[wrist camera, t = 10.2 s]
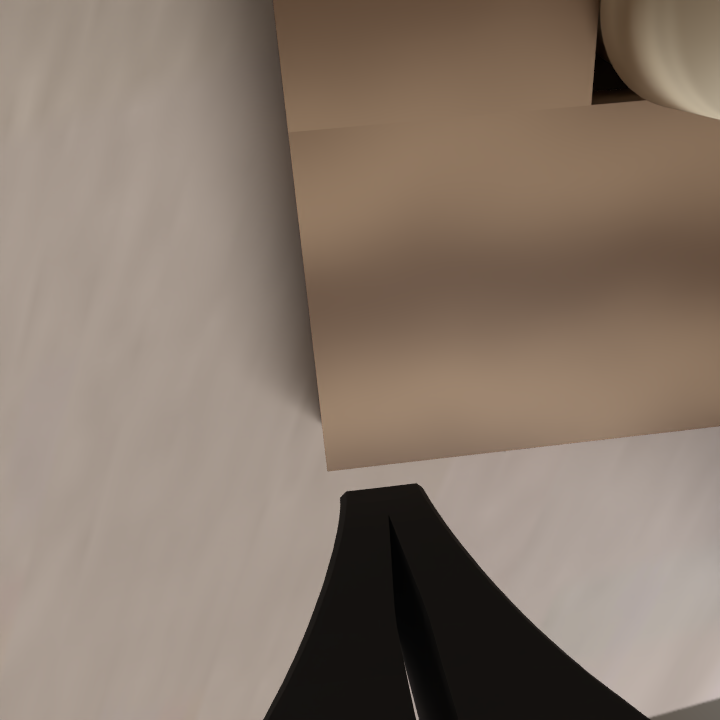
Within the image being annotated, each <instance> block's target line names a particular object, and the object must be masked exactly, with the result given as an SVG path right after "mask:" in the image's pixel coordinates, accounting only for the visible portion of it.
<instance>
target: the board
mask: <svg viewBox="0 0 720 720" xmlns="http://www.w3.org/2000/svg"><path fill="white" fill-rule="evenodd" d="M599 2H600V0H273V7H274V15H275V24H276V32H277V41H278V50H279V58H280V67H281V76H282V84H283V93H284V101H285V110H286V119H287V127H288V136H289V144H290V153H291V162H292V170H293V179H294V188H295V196H296V205H297V213H298V222H299V231H300V239H301V248H302V256H303V265H304V274H305V282H306V291H307V300H308V308H309V317H310V325H311V334H312V343H313V351H314V360H315V368H316V377H317V386H318V394H319V403H320V412H321V420H322V429H323V437H324V446H325V455H326V463H327V471H335V470H344V469H352V468H361V467H370V466H378V465H387V464H396V463H404V462H413V461H422V460H430V459H439V458H448V457H456V456H465V455H474V454H482V453H491V452H500V451H509V450H517V449H526V448H535V447H543V446H552V445H561V444H569V443H578V442H587V441H595V440H604V439H613V438H621V437H630V436H639V435H647V434H656V433H665V432H673V431H682V430H691V429H699V428H708V427H717V426H720V120H719V119H715V118H710V117H706V116H702V115H697V114H693V113H689V112H684V111H680V110H676V109H671V108H667V107H663V106H660V105H657V104H654V103H651V102H649V101H647V100H646V99H644V98H642V97H640V96H639V95H637V94H636V93H635V92H634V91H632V90H631V89H630V88H622V89H611V90H600V91H592V89H593V76H594V64H595V51H596V39H597V26H598V14H599Z"/></svg>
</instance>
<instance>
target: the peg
mask: <svg viewBox="0 0 720 720" xmlns="http://www.w3.org/2000/svg"><path fill="white" fill-rule="evenodd" d="M595 53H596V54H597V55H598V56H599V57H601V58H602V59H603V60H605V61H606V62H608V63H610V64H612V65H613V68H614V69H615V71H616V72H617V74H618V75H619V77H620V78H621V80H622V81H623V82H624V83H625V84H626V85H627V86H628V87H629V88H630V89H631V90H632V91H634V92H635V93H636V94H637V95H639V96H640V97H642V98H644V99H646V100H647V101H649V102H651V103H654V104H657V105H660V106H663V107H667V108H671V109H676V110H680V111H684V112H689V113H693V114H697V115H702V116H706V117H710V118H715V119H719V120H720V0H600V2H599V14H598V26H597V39H596V51H595Z"/></svg>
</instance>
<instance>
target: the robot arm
mask: <svg viewBox="0 0 720 720" xmlns="http://www.w3.org/2000/svg"><path fill="white" fill-rule="evenodd" d="M404 663H405V665H404ZM405 667H406V670H405ZM406 671H407V675H408V679H409V683H410V686H411V690H412V694H413V698H414V702H415V706H416V709H417V713H418V717H419V720H650V719H649V718H647V717H646V716H645V715H643V714H642V713H641V712H639V711H638V710H637V709H635V708H634V707H633V706H632V705H630V704H629V703H628V702H626V701H625V700H624V699H622V698H621V697H620V696H618V695H617V694H616V693H614V692H613V691H612V690H610V689H609V688H608V687H606V686H605V685H604V684H603V683H601V682H600V681H599V680H597V679H596V678H595V677H593V676H592V675H591V674H590V673H588V672H587V671H586V670H585V669H584V668H582V667H581V666H580V665H579V664H578V663H577V662H575V661H574V660H573V659H572V658H571V657H569V656H568V655H567V654H566V653H565V652H564V651H562V650H561V649H560V648H559V647H558V646H557V645H556V644H555V643H554V642H552V641H551V640H550V639H549V638H548V637H547V636H546V635H545V634H544V633H543V632H542V631H540V630H539V629H538V628H537V627H536V626H535V625H534V624H533V623H532V622H531V621H530V620H529V619H528V618H527V617H526V616H525V615H524V614H523V613H522V612H521V611H520V610H519V609H518V608H517V607H516V606H515V605H514V604H513V603H512V602H511V601H510V600H509V599H508V598H507V596H506V595H505V594H504V593H503V592H502V591H501V590H500V589H499V588H498V587H497V586H496V585H495V584H494V582H493V581H492V580H491V579H490V578H489V577H488V576H487V575H486V573H485V572H484V571H483V570H482V569H481V568H480V566H479V565H478V564H477V563H476V561H475V560H474V559H473V558H472V557H471V555H470V554H469V553H468V552H467V551H466V549H465V548H464V547H463V546H462V544H461V543H460V542H459V541H458V539H457V538H456V537H455V535H454V534H453V533H452V531H451V530H450V529H449V527H448V526H447V525H446V523H445V522H444V520H443V519H442V518H441V516H440V515H439V513H438V512H437V510H436V509H435V507H434V506H433V504H432V503H431V501H430V499H429V498H428V496H427V494H426V493H425V491H424V489H423V488H422V487H421V486H419V485H418V484H417V483H416V484H407V485H398V486H390V487H381V488H373V489H364V490H356V491H347V492H345V493H344V494H343V495H342V496H341V497H340V517H339V524H338V530H337V535H336V539H335V544H334V548H333V552H332V556H331V559H330V563H329V566H328V570H327V573H326V577H325V580H324V583H323V586H322V589H321V592H320V595H319V598H318V600H317V603H316V606H315V609H314V611H313V614H312V617H311V619H310V622H309V625H308V627H307V630H306V632H305V635H304V637H303V640H302V642H301V644H300V647H299V649H298V651H297V653H296V656H295V658H294V660H293V662H292V664H291V666H290V669H289V671H288V673H287V675H286V677H285V679H284V681H283V683H282V685H281V687H280V689H279V691H278V693H277V695H276V697H275V698H274V700H273V702H272V704H271V706H270V708H269V710H268V712H267V714H266V716H265V717H264V719H263V720H416V717H415V712H414V708H413V703H412V698H411V694H410V689H409V684H408V679H407V675H406Z"/></svg>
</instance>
